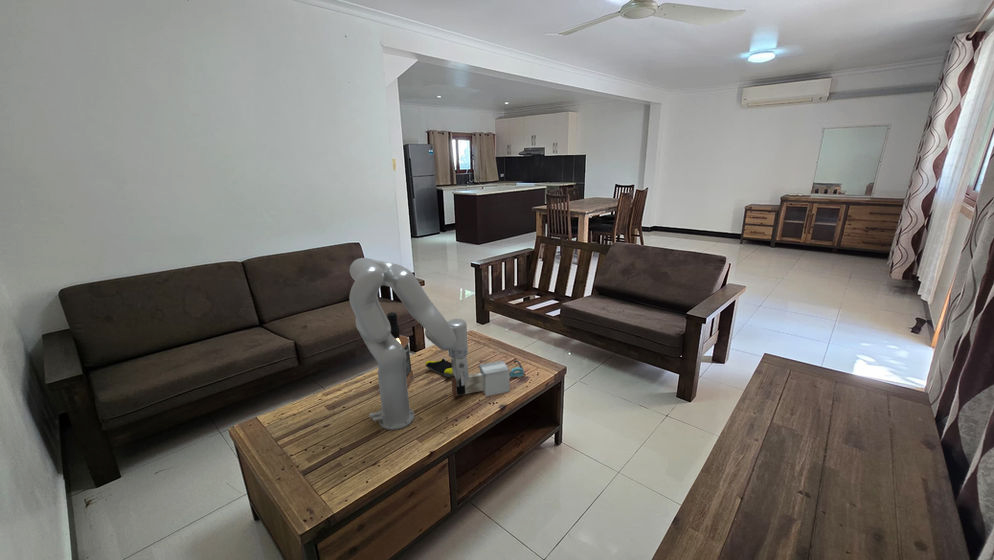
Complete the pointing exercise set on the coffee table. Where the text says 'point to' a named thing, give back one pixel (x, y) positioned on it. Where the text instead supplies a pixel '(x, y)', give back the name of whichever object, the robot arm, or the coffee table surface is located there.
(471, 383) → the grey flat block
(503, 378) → the block
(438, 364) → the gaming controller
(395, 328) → the whiskey bottle
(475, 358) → the coffee table surface
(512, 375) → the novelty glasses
